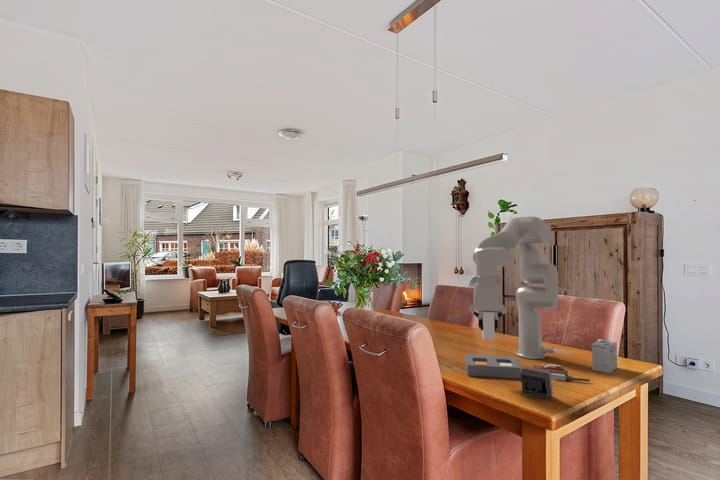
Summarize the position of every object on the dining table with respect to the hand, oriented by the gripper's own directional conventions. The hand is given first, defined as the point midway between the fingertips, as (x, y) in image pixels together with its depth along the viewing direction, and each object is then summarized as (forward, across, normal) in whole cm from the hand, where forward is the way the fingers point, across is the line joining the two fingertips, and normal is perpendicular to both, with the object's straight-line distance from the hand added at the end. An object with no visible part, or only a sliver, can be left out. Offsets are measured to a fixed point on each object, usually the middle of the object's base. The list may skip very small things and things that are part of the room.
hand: (488, 329), depth 141 cm
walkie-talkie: (+20, -26, -8) cm, 34 cm away
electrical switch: (+19, -13, +14) cm, 27 cm away
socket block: (+19, -2, -11) cm, 22 cm away
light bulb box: (+20, -48, -22) cm, 56 cm away
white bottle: (+3, 0, 0) cm, 3 cm away
